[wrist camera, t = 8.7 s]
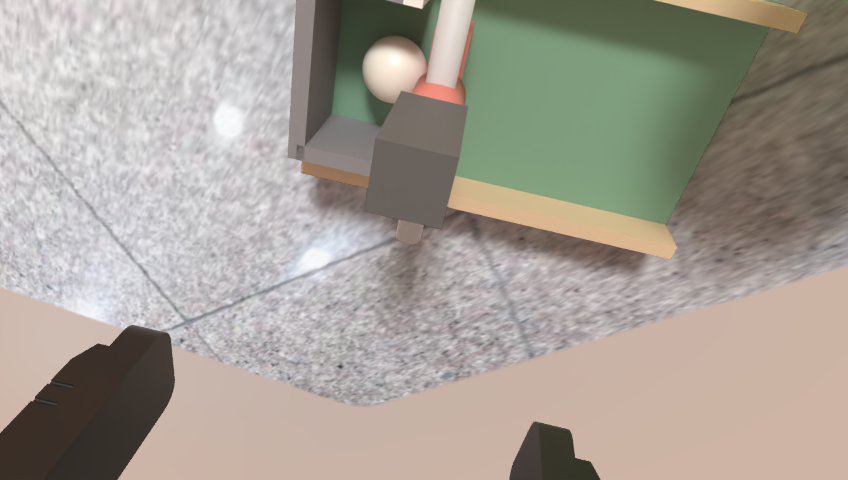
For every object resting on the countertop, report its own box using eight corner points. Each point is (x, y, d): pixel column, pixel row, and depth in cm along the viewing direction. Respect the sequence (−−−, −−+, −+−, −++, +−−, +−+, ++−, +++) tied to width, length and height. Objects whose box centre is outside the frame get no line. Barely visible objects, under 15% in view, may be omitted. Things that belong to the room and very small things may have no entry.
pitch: (774, 1, 31) (838, 24, 25) (656, 229, 39) (683, 285, 34) (340, -100, 31) (301, -101, 25) (318, 150, 39) (285, 192, 34)
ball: (376, 23, 33) (438, 38, 33) (368, 85, 35) (425, 99, 35) (358, 35, 30) (426, 52, 30) (350, 102, 32) (413, 119, 32)
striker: (507, -71, 29) (511, -51, 16) (443, 194, 39) (411, 349, 25) (451, -83, 29) (407, -75, 16) (400, 184, 39) (345, 334, 25)
